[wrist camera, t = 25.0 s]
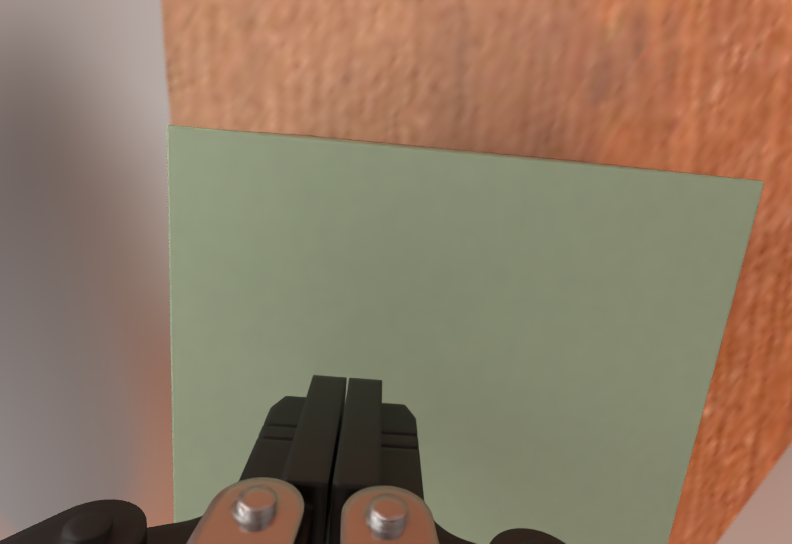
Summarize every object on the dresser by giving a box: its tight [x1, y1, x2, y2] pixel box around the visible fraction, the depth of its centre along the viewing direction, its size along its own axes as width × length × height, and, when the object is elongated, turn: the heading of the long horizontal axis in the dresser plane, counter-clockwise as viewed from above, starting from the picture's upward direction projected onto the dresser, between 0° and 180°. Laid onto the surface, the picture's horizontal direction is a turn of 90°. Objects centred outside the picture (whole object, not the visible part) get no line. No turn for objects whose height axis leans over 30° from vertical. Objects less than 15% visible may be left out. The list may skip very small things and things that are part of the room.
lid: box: [167, 125, 764, 544], centre depth 14 cm, size 14×12×1 cm
